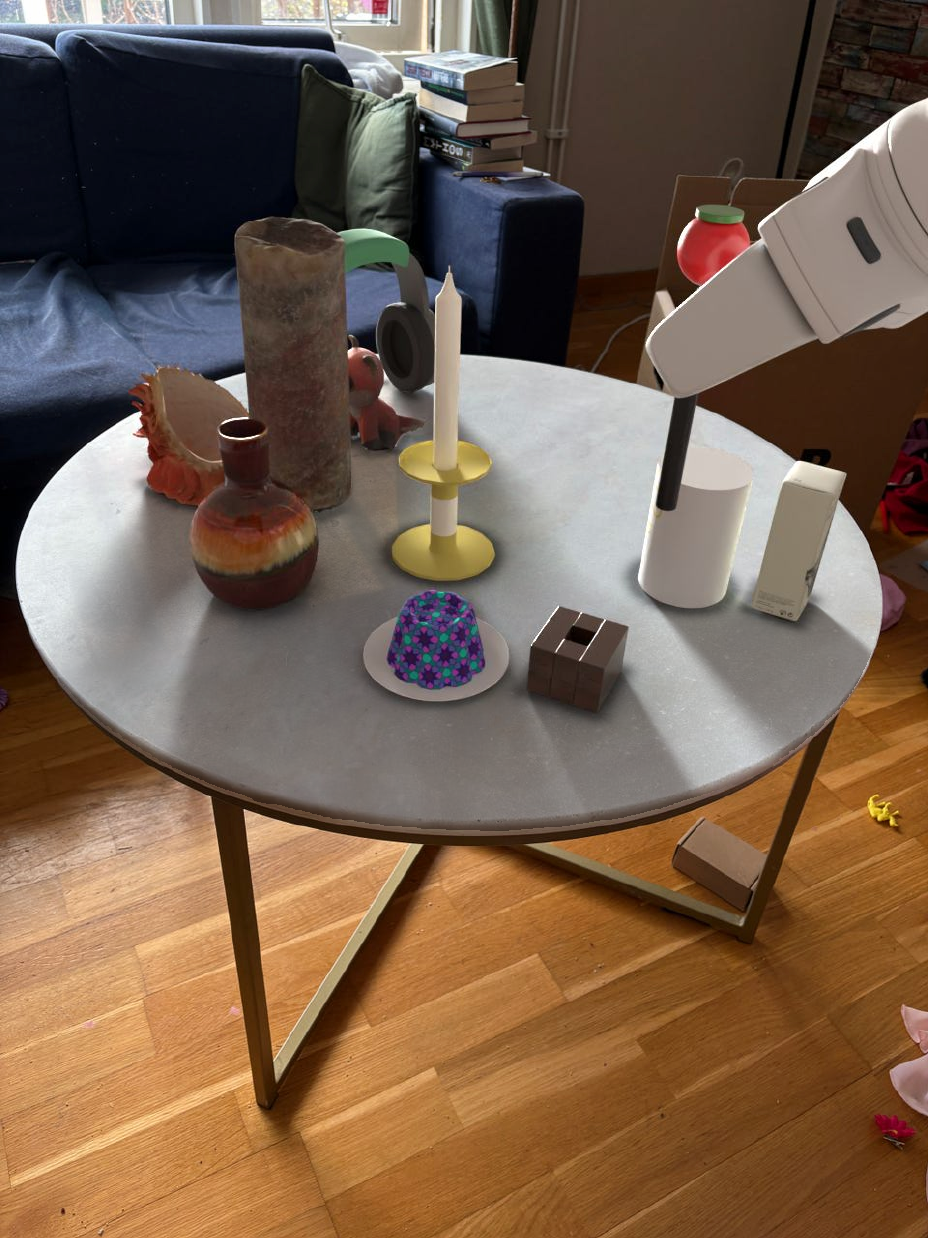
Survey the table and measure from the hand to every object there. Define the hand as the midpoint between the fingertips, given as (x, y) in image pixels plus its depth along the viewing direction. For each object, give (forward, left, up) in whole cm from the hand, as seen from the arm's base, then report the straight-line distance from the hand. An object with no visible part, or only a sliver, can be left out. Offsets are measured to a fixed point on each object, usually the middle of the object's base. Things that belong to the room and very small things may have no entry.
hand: (682, 368), depth 58 cm
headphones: (+47, -41, -28) cm, 68 cm away
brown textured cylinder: (+39, -15, -28) cm, 50 cm away
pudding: (+15, +2, -27) cm, 32 cm away
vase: (+34, 0, -27) cm, 44 cm away
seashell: (+52, -16, -28) cm, 61 cm away
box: (-8, -20, -28) cm, 35 cm away
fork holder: (+4, -1, -27) cm, 28 cm away
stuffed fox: (+39, -31, -28) cm, 57 cm away
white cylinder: (0, -19, -27) cm, 33 cm away
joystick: (-1, 0, -9) cm, 9 cm away
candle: (+22, -13, -28) cm, 38 cm away
